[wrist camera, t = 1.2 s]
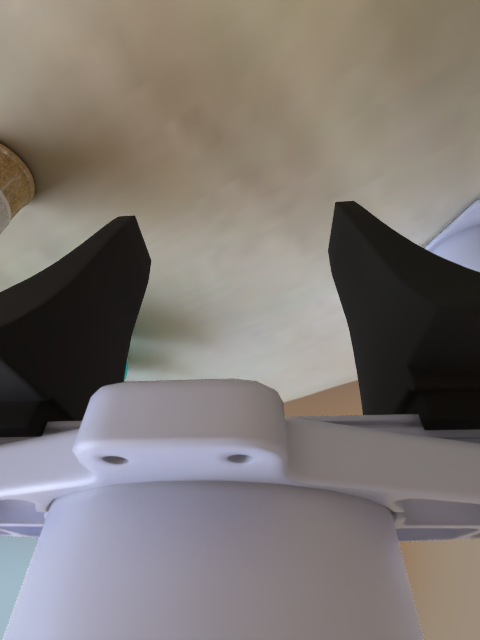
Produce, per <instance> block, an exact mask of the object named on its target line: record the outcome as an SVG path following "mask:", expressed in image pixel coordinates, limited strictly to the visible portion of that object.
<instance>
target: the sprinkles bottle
mask: <svg viewBox="0 0 480 640" xmlns="http://www.w3.org/2000/svg"><path fill="white" fill-rule="evenodd" d="M34 193H35V185H34V180H33V177H32V175H31V173H30V170H29V169H28V168H27V166H26V165H25V164H24V162H23V161H22V160H20V158H19V157H18V156H17V155H16V154H15V153H13V152H12V151H11V150H10V149H8V148H7V147H6V146H4V145H2V144H0V234H1V232H2V231H3V230H4V229H5V228H6V227H7V226H8V224H9V222H10V221H11V219H12V218H13V217H14V216H15V215H16V214H17V213H18V212H19V210H20V209H21V208H22V207H24V206H26V205H27V204H28V203H29V202H30V201H31V200H32V198H33V197H34Z"/></svg>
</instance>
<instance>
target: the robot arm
mask: <svg viewBox="0 0 480 640" xmlns="http://www.w3.org/2000/svg"><path fill="white" fill-rule="evenodd" d="M328 253H329V260H330V266H331V272H332V276H333V279H334V282H335V285H336V288H337V291H338V295H339V298H340V301H341V304H342V307H343V310H344V313H345V316H346V319H347V323H348V327H349V331H350V336H351V341H352V346H353V351H354V357H355V363H356V369H357V375H358V381H359V388H360V395H361V402H362V409H363V415H355V416H354V415H353V416H352V415H351V416H300V417H285V416H284V404H283V401H282V400H281V398H280V396H279V394H278V392H277V391H275V390H274V389H272V388H270V387H268V386H266V385H263V384H261V383H259V382H257V381H250V380H241V379H202V380H167V381H133V382H124V377H125V370H126V364H127V357H128V352H129V347H130V341H131V337H132V333H133V329H134V326H135V323H136V319H137V316H138V313H139V310H140V307H141V304H142V301H143V298H144V294H145V291H146V288H147V284H148V280H149V274H150V266H151V259H150V256H149V253H148V250H147V248H146V245H145V242H144V239H143V237H142V234H141V231H140V228H139V226H138V223H137V220H136V217H135V216H121V217H117V218H116V219H114V220H112V221H111V222H110V223H108V224H107V225H106V226H104V227H103V228H102V229H100V230H99V231H98V232H97V233H95V234H94V235H93V236H91V237H90V238H89V239H88V240H86V241H85V242H84V243H82V244H81V245H80V246H78V247H77V248H76V249H74V250H73V251H71V252H70V253H69V254H67V255H66V256H64V257H63V258H62V259H60V260H59V261H57V262H56V263H54V264H53V265H51V266H49V267H48V268H46V269H44V270H43V271H41V272H39V273H38V274H36V275H34V276H32V277H30V278H29V279H26V280H24V281H22V282H20V283H18V284H16V285H14V286H12V287H10V288H8V289H6V290H4V291H2V292H0V535H4V536H23V537H39V539H38V542H37V545H36V548H35V551H34V554H33V556H32V559H31V562H30V564H29V567H28V570H27V573H26V576H25V578H24V581H23V584H22V587H21V589H20V592H19V595H18V598H17V601H16V603H15V606H14V609H13V612H12V614H11V617H10V620H9V623H8V626H7V628H6V631H5V634H4V637H3V640H424V636H423V632H422V629H421V625H420V621H419V617H418V613H417V609H416V606H415V602H414V598H413V594H412V590H411V587H410V583H409V579H408V575H407V571H406V567H405V563H404V559H403V556H402V552H401V548H400V544H399V542H405V541H433V540H461V539H480V199H478V200H476V201H475V202H474V203H473V204H472V205H471V206H469V207H468V208H467V209H466V210H465V211H464V212H463V213H462V214H461V215H460V216H459V217H457V218H456V219H455V220H454V221H453V222H452V223H451V224H450V225H449V226H448V227H447V228H445V229H444V230H443V231H442V232H441V233H440V234H439V235H438V236H437V237H436V238H435V239H433V240H432V241H431V242H430V243H429V244H428V245H427V246H426V247H425V248H422V247H420V246H418V245H417V244H415V243H413V242H411V241H410V240H408V239H407V238H405V237H403V236H402V235H400V234H399V233H397V232H396V231H394V230H393V229H391V228H390V227H388V226H387V225H386V224H384V223H383V222H382V221H380V220H379V219H378V218H376V217H375V216H374V215H372V214H371V213H370V212H368V211H367V210H366V209H364V208H363V207H362V206H360V205H359V204H358V203H356V202H354V201H345V202H336V203H335V209H334V216H333V222H332V229H331V235H330V242H329V248H328Z"/></svg>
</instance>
